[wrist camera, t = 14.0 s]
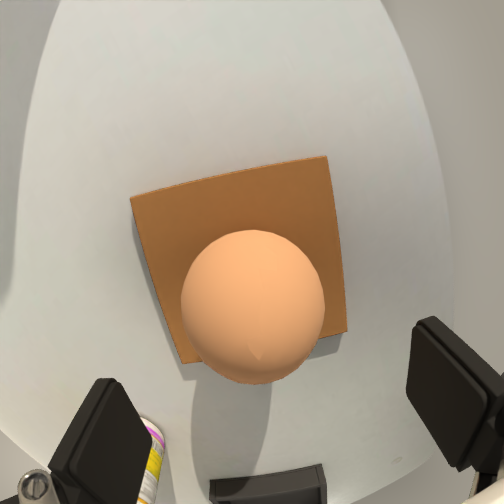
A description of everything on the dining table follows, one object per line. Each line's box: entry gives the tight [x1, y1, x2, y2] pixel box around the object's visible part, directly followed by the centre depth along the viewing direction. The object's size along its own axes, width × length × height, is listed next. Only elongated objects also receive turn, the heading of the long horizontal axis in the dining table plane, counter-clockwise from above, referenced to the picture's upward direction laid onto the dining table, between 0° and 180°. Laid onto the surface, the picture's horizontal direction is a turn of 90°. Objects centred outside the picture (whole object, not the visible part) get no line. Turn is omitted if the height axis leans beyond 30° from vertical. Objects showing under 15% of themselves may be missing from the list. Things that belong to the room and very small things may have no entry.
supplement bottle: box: [137, 417, 165, 504], centre depth 17 cm, size 7×7×13 cm
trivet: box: [130, 156, 347, 364], centre depth 19 cm, size 12×12×1 cm
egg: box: [181, 230, 325, 385], centre depth 14 cm, size 7×7×9 cm
